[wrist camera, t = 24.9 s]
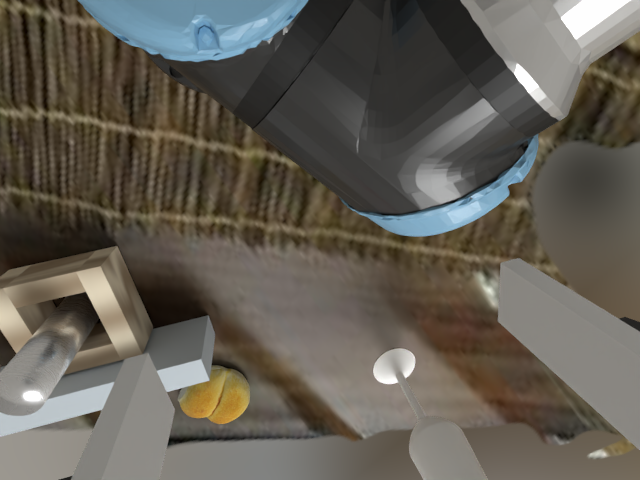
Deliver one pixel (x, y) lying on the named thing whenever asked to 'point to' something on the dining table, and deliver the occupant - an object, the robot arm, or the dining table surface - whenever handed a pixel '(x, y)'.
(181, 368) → the wall
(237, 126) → the dining table surface
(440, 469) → the champagne flute
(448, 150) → the robot arm
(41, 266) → the square wooden frame
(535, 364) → the dining table surface
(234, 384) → the bread roll
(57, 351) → the metal peg
